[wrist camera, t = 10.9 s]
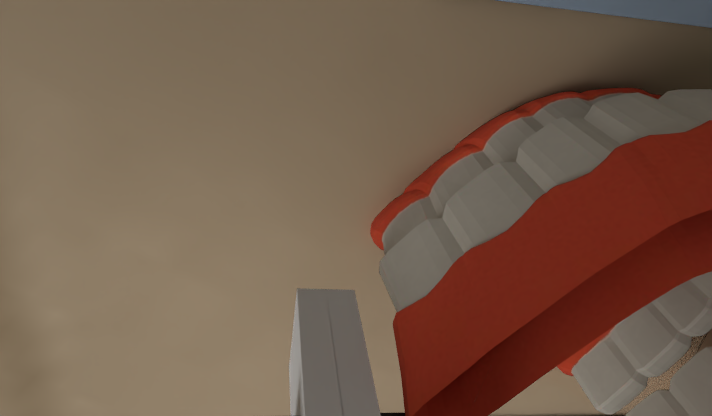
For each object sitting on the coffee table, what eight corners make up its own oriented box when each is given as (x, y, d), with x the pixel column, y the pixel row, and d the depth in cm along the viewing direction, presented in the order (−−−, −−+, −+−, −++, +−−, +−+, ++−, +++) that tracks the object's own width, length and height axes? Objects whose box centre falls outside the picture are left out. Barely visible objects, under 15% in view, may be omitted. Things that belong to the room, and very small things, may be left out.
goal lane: (349, 453, 23) (357, 507, 21) (452, -95, 14) (484, -94, 12) (675, 444, 26) (709, 491, 24) (950, -16, 16) (1049, -5, 14)
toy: (795, 198, 20) (1078, 359, 13) (573, 375, 23) (705, 583, 16) (593, -53, 15) (884, -10, 8) (343, 219, 18) (388, 425, 11)
